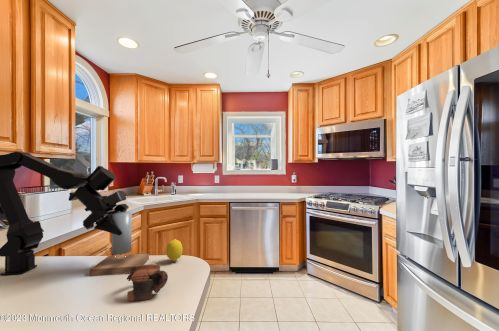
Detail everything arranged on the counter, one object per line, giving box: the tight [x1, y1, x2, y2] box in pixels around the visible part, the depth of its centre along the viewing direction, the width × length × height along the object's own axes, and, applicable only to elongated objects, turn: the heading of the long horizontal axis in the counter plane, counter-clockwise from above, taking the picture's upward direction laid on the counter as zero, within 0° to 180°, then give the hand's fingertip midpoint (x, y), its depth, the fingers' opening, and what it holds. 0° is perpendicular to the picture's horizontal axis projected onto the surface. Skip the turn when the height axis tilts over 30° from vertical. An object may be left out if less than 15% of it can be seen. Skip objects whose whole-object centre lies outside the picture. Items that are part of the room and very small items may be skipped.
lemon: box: [165, 238, 183, 262], centre depth 84 cm, size 6×6×8 cm
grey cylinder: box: [110, 211, 133, 256], centre depth 80 cm, size 6×6×13 cm
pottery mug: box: [126, 264, 169, 302], centre depth 62 cm, size 12×10×8 cm
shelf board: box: [89, 253, 150, 277], centre depth 79 cm, size 14×12×2 cm
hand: (125, 232), depth 80 cm, fingers closed on grey cylinder, 6 cm apart
